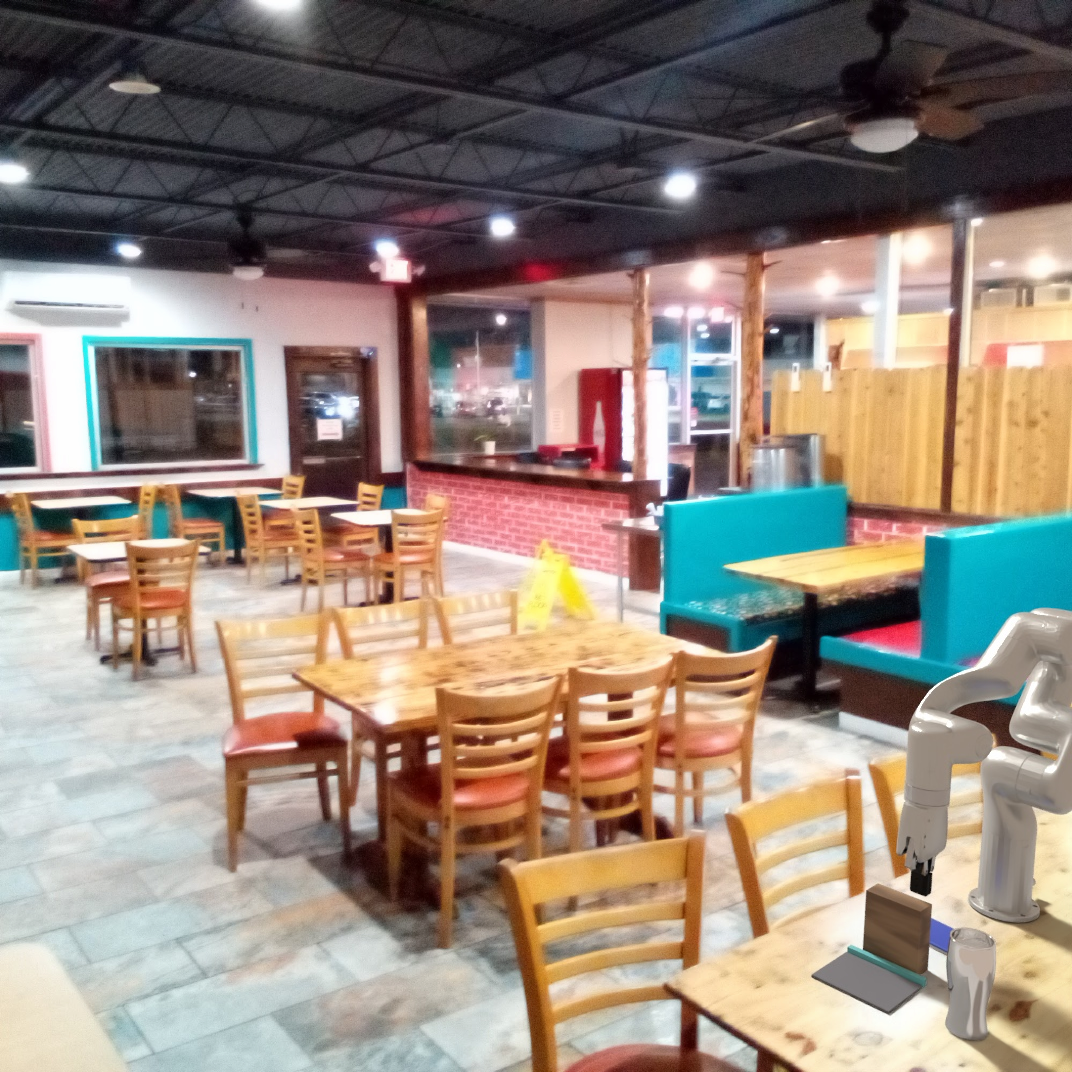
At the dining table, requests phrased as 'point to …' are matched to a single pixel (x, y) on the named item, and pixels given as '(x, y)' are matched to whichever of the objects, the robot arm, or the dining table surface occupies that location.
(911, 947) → the slab
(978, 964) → the beer glass
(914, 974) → the stop strip
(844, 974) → the mat
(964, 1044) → the dining table surface
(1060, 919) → the dining table surface
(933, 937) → the hard drive
